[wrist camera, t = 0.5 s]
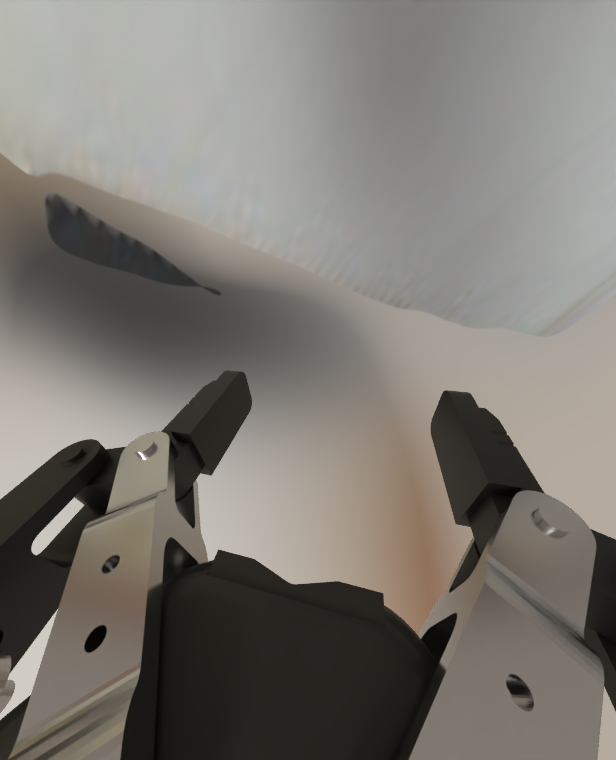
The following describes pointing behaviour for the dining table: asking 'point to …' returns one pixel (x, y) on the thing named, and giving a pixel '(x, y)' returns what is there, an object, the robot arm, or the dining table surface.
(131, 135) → the dining table surface
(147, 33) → the dining table surface
